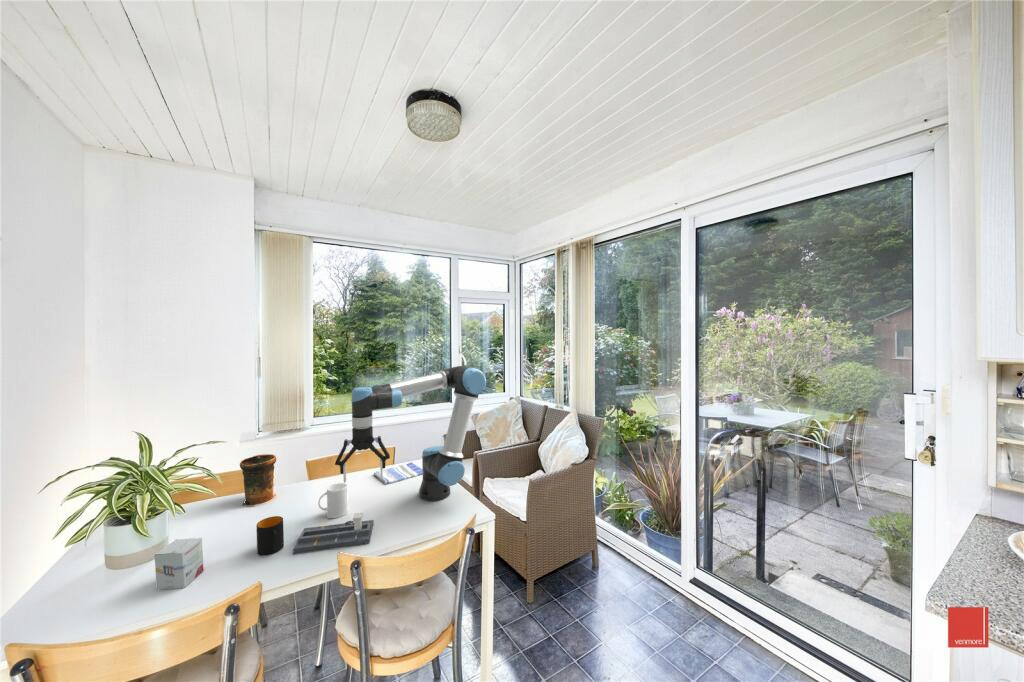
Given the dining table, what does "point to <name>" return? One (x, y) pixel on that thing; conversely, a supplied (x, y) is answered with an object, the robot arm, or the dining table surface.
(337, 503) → the mug
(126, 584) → the dining table surface
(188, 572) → the ink box
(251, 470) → the vessel
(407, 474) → the dish towel
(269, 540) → the mug
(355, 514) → the fader
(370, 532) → the console
